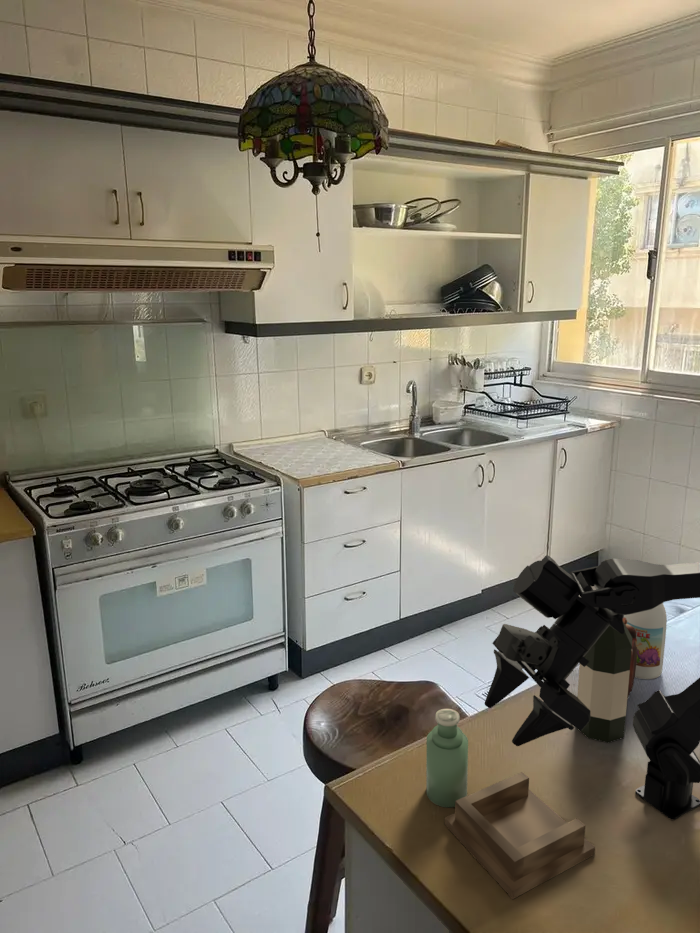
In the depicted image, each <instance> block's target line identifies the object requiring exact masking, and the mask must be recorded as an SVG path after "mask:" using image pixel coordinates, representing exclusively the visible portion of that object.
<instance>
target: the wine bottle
mask: <svg viewBox="0 0 700 933" xmlns="http://www.w3.org/2000/svg"><path fill="white" fill-rule="evenodd" d="M608 559H609V558H608ZM608 559H606V560H608ZM607 609H608V608H607ZM609 610H610V609H609ZM623 624H624V622H623ZM624 628H625V633H624V634H621V633H619V632H618V631H616V630H615V629H614V628H612V627H611V626H610V625H609V627H608V628H607V629H606V630H605V632H604V633H603V634H602V635H601V636H600V638H599V639H598V640H597V641H596V643H595V644H594V645H593V646H592V648H591V649H590V650H589V651H588V653H587V654H586V655H585V656H584V657H585V658H586V659H587V660H588V661H589V663H588V664H587V665H586V666H585V667H584V666H582V665H581V664H580V663H579V664H578V666H579V668H578V680H577V681H578V683H577V684H578V685H577V695H576V697H577V698H578V699H579V700H580V701H581V702H582V703H583V704H584V705H585V706H586V707H587V708H588V709H589V710H590V715H591V720H590V721H589V722H588V723H587V725H586V726H585V727H584V728H583V729H582V731H581V732H582V733H581V732H580V733H581V734H583V733H584V734H583V735H584V736H585V735H586V736H585V737H586V738H587V737H588V738H587V739H590V738H591V740H594V739H596V740H595V741H599V740H600V742H603V741H605V742H604V743H608V742H609V743H612V742H615V741H614V740H616V741H618V740H617V739H619V740H621V739H620V738H622V739H624V738H625V732H626V731H625V730H626V729H625V728H626V719H627V718H626V716H627V709H628V708H627V707H628V706H627V705H628V698H627V696H628V685H629V673H630V662H631V650H632V636H631V634H630V633H629V631H628V629H627V627H626V626H625V624H624ZM623 737H624V738H623ZM611 741H612V742H611Z"/></svg>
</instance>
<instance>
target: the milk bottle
mask: <svg viewBox="0 0 700 933" xmlns="http://www.w3.org/2000/svg"><path fill="white" fill-rule="evenodd" d="M667 616H668V615H667V611H666V607H665V605H664V603H662V604H660V605H658V606H657V607H655V608H653V609H651V610H647V611H642V612H638V613H634V614H629V615H623V618H624V617H625V618H626V620H627V624H628V625H631V626H632V627H633V628H634V629H635V630H636V635H637V639H635V640H636V647H637V663H636V671H635V678H634V679H638V680H639V679H641V680H655V679H657V678H659V677H661V675H662V674H663V673H662V672H663V666H664V660H665V658H664V656H665V649H666V648H665V647H666V638H667V637H666V635H667V625H668V624H667V622H668V619H667V618H668V617H667Z"/></svg>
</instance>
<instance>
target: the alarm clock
mask: <svg viewBox="0 0 700 933" xmlns="http://www.w3.org/2000/svg"><path fill="white" fill-rule="evenodd" d="M623 622H624V624H625V626H626V627H627V629H628V631H629V633H630V634H631V636H632V650H631V662H630V673H629V685H628V696H627V699H629V698H630V695H631V692H632V691H633V688H634V684H635V679H636V678H635V671H636V663H637V647H636V640H635V639H637V635H636V630H635V629H634V628H633V627H632V626H631V625H628V624H627V620H626V618H625V617H624V616H623Z"/></svg>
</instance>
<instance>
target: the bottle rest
mask: <svg viewBox="0 0 700 933" xmlns="http://www.w3.org/2000/svg"><path fill="white" fill-rule="evenodd" d="M529 786H530V777H529V776H527V775H526V774H525V772H523V771H521V772H518V773H516V774H514V775H511V776H509V777H507V778H505V779H502V780H500V781H498V782H494V783H493V784H490V785H489V786H486V787H483V788H481V789H479V790H477V791H475V792H473V793H470V794H467V796H465V797H463V798H461V799H459V800H456V801H455V807H454V813H452V814H450V815H447V816H445V817H444V826H445V827H446V828H447V829H448V830H449V831H450V832H451V834H452V835H453V836H454V837H455V836H456V837H455V838H457V840H458V841H459V842H460V843H461V844H462V846H464V848H465V847H466V848H465V849H466V850H467V851H468V852H469V853H470V854H471V855H472V856H473V857H474V859H476V861H477V862H478V863H479V864H480V865H481V866H482V867H483V869H485V871H486V870H487V871H488V872H489V873H490V874H489V873H488V872H487V871H486V872H487V873H488V874H489V875H490V876H491V877H492V878H493V879H494V881H495V882H496V881H497V882H498V883H499V884H498V883H497V882H496V883H497V884H498V885H499V886H500V887H501V888H502V889H503V890H504V891H505V892H507V893H508V894H507V895H508V896H509V897H510V898H511V899H512V900H514V899H515V898H517V897H519V895H520V896H521V895H523V894H525V893H526V892H529V891H530V890H532V889H534V888H536V887H537V886H540V885H541V884H543V883H545V882H547V881H549V880H551V879H552V878H554V877H556V876H558V875H560V874H561V873H564V872H565V871H567V870H569V869H571V868H572V867H575V866H576V865H578V864H580V863H582V862H583V861H585V860H587V859H589V858H590V857H592V856H595V854H596V846H595V845H594V844H593V843H591V841H589V840H588V839H587V838H586V837H585V835H586V825H585V823H583V822H582V821H581V820H580V819H579V818H577V817H576V818H574V819H572V820H570V821H568V822H567V821H566V820H565V819H564V818H562V817H561V815H559V814H558V813H557V812H556V811H555V810H554V809H552V808H551V807H550V806H549V805H548V804H547V803H546V802H544V801H543V800H542V798H540V797H538V796H537V795H536V794H535V793H534V792H533V791H532V790H531V789H530V787H529Z"/></svg>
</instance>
